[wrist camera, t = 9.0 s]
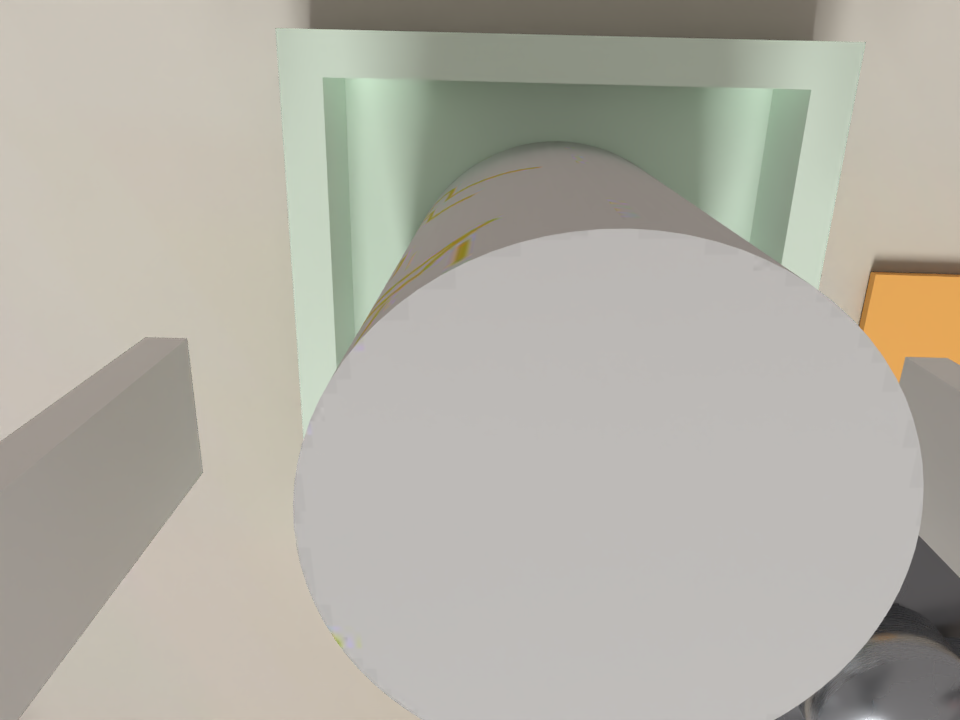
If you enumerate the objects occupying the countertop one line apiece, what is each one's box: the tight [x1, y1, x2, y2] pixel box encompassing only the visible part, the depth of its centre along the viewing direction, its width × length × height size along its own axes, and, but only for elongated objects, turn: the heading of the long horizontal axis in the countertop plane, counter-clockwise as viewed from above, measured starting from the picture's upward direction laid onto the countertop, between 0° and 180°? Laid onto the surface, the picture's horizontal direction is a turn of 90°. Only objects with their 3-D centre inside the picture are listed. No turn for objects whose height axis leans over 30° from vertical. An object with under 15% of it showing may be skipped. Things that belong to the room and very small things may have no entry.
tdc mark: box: [859, 272, 960, 383], centre depth 22 cm, size 4×4×1 cm
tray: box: [275, 28, 866, 439], centre depth 20 cm, size 13×13×3 cm
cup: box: [293, 141, 924, 720], centre depth 15 cm, size 8×8×12 cm
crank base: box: [775, 535, 960, 720], centre depth 25 cm, size 11×11×1 cm
